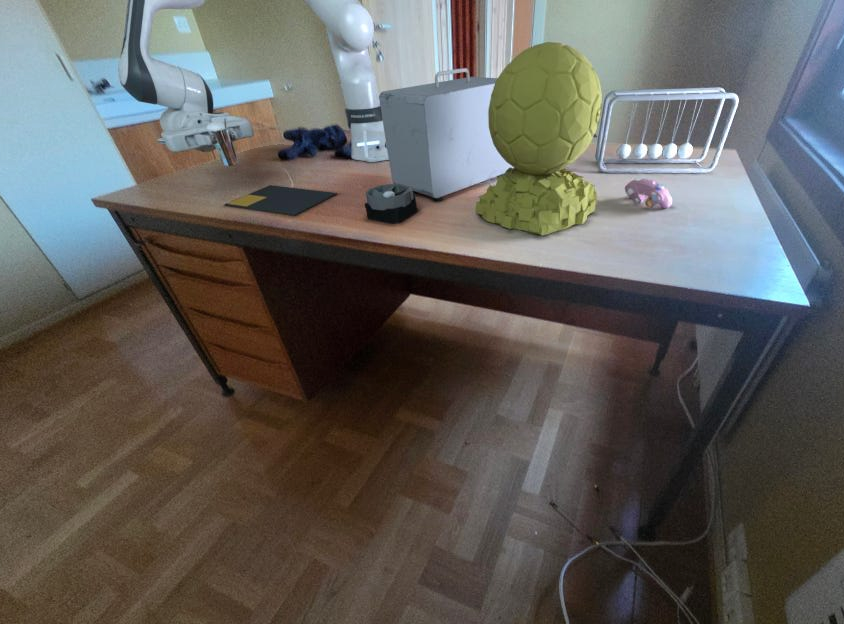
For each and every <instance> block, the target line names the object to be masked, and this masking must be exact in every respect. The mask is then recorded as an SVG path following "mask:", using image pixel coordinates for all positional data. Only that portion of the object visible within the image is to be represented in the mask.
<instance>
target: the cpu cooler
mask: <svg viewBox="0 0 844 624" xmlns="http://www.w3.org/2000/svg"><path fill="white" fill-rule="evenodd" d="M365 198H366V202H365V203H364V208H365V212H366V213H365V214H366V217H367V220H371V221H377V222H382V223H387V224H391V225H392V224H396V223H399V224H400V223H402V222H403V221H405V220H406V219H408V218H409V217H412V216H413V215H415V214H416V213H418V205H417V198H416V195H415V196H414V191H413V188H412V187H408V186H406V185H403V184H393V183H386V184H381V185H376V186H373V187H370V188H368V189H367V191H366V192H365Z"/></svg>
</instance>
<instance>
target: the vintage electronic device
mask: <svg viewBox="0 0 844 624" xmlns="http://www.w3.org/2000/svg"><path fill="white" fill-rule="evenodd" d="M462 73H465V76H466V77H463V78H462V77H461V78H456V79H450V80H443V81H439V77H442V76H447V75H454V74H462ZM497 79H498V77H481V76H470V71H469V69H468V68H466V67H463V68H456V69H449V70H448V69H447V70H441V71H437V72H436V73H435V76H434V82H432V83H426V84H419V85H413V86H407V87H401V88H395V89H389V90H383V91H381V92H379V101H380V107H381V114H382V120H383V126H384V132H385V139H386V145H387V151H388V157H389V160H388V163H389V169H390V176H391V182H392V184H403V185H406V186H408V187H412V188H413V193H414V192H415V193H418V194H421V195H424V196H427V197H430V198H433V201H434V202H442V201H444V197H445V196H447V195H450V194H453V193H455V192H458V191H461V190H463V189H467V188H469V187H472V186H474V185H477V184H480V183H483V182H485V181H488V180H491V179H493V178H496V177H498V176H501V175H504V174H505V172H506V170H507V169H509V168H510V167H511V168H512V169H514V167H513V166H511V165H510V164H508V163H507V162H506V161H505V160H504V159H503V158H502V156H501V155H500V154H499V153H498V151H497V149H496V148H495V146H494V144H493V141H492V138H491V135H490V131H489V119H488V110H489V104H490V99H491V94H492V91H493V88H494V85H495V82H496V80H497Z"/></svg>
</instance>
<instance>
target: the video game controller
mask: <svg viewBox="0 0 844 624" xmlns="http://www.w3.org/2000/svg"><path fill="white" fill-rule="evenodd" d="M624 191H625V193H626V194H627V197H628V198H629V199H632V202H633V203H634V204H636V205H641V204H643V202H644V205H645V206H646V207H647V208H649V209H653V208H654V207H655V206H656V205H659V206H660V207H662V208H664V209H669V208H671V206H672V204H673V198H672V196H671V195H670V193H669V190H668V189H667V187H665V185H664V184H662V183H658V182H656V181H655V180H652V179H650V178H642V179H640V178H638V177H635V178H634V179H633V180H631V181H629V182H628V183H626V185H625V186H624ZM645 196H646V197H647V198H646V200H645Z"/></svg>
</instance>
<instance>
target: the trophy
mask: <svg viewBox="0 0 844 624" xmlns="http://www.w3.org/2000/svg"><path fill="white" fill-rule="evenodd" d="M497 78H498V79H497V80H496V82H495V85H494V88H493V91H492V94H491V99H490V104H489V110H488V119H489V131H490V135H491V138H492V141H493V144H494V146H495V148H496V149H497V151H498V153H499V154H500V155H501V156H502V158H503V159H504V160H505V161H506V162H507V163H508V164H510V165H511V166H513V167H514V169H512V168H511V167H510V168H509V169H507V170H506V172H505V174H504V175H499V176H497V178H496V184H495V185H489V186H488V187H487V188H486V192H485V193H483V194H481V195H478V199H479V201H476V202H475V213H476V214H479V215H481V218H482V219H483V220H485V221H486V222H488V223H492V224H498V225H500V227H503V228H507V229H509V230H511V229H512V230H513V229H514V230H515V229H516V230H519V231H523V232H527V233H529V234H534V235H535V234H536V235H539V236H547V235H550V234H552V233H555V232H558V231H559V232H560V231H563V230H566V229H568V228H571V227H573V226H575V225H581V226H582V225H584V224H585V223H586V222H587V219H588V216H589V215H590V214H592V213H594V212H595V210H596V205H598V194H597V191H596V187H595V185H594V184H592V183H591V182H589V181H585V180H584V176H581V175H578V174H576V173H574V172H573V171H572V170H568V169H567V167H568V166H570V165H571V164H573V163H574V162H576V160H577V159H579V158H580V157H581V155H583V153H585V151H587V149H588V147H589V146H590V144H591V142H592V141H593V138H594V137H593V136H594V134H596V132H597V128H598V126H599V123H600V120H601V116H602V109H603V105H602V104H603V102H602V101H603V99H602V97H603V96H602V95H603V94H602V93H603V92H602V87H601V83H600V78H599V75H598V74H597V72H596V70H595V68H594V67H593V65H592V63H591V62H590V61H589V59H588V58H587V57H586V56H585V55H584V54H583V53H581V52H580V51H578V50H576V49H575V48H574V47H572V46H570V45H568V44H565V45H564V44H563V43H561V42H553V41H547V42H541V43H537V44H534V45H533V46H530V47H528V48H525V49H524V50H522V51H521V52H520V53H518V54H517V55H516V56H515V57H514V58H513V59H512V60H511V61H510V62H509V63H508V64H507V65H506V66H505V67H504V68H503V69H502V71H501V72H500V74H499V75H498V77H497Z"/></svg>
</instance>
